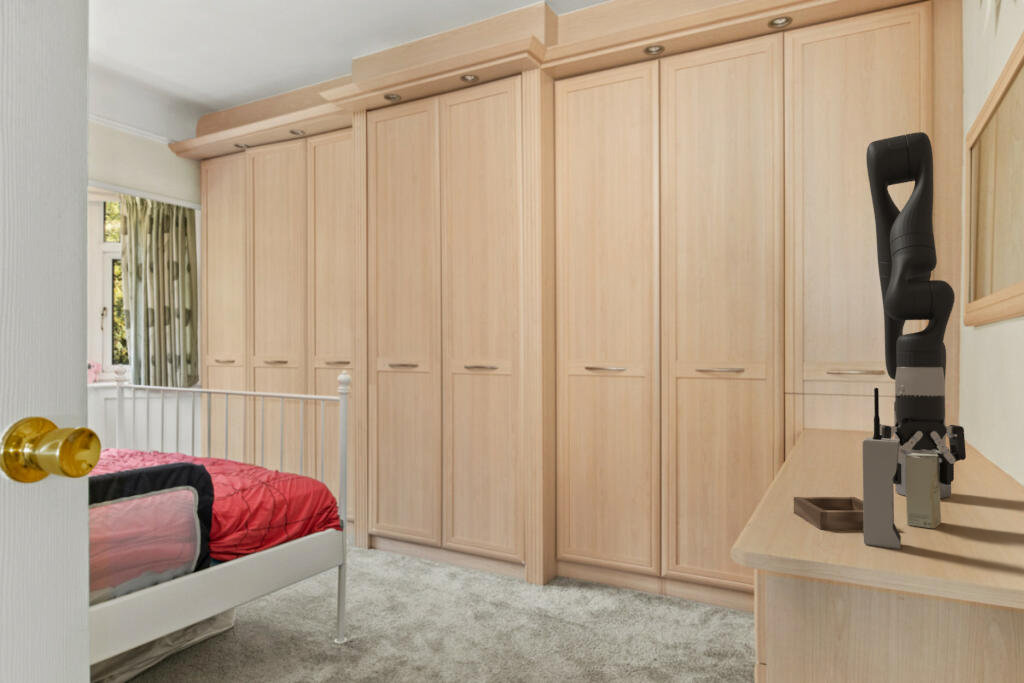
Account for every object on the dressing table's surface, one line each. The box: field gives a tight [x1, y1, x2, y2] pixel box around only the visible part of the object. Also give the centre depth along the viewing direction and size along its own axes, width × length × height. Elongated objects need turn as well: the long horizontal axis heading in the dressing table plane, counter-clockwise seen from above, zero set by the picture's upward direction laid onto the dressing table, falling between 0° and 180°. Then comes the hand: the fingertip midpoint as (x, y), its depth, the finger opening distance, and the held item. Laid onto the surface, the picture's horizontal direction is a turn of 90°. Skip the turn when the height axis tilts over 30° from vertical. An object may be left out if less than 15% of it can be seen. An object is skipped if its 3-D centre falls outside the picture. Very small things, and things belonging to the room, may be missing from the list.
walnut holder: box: [793, 496, 864, 531], centre depth 118 cm, size 11×11×3 cm
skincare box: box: [905, 453, 942, 529], centre depth 116 cm, size 6×4×12 cm
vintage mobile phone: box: [862, 387, 902, 550], centre depth 104 cm, size 4×5×25 cm
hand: (920, 483), depth 116 cm, fingers open, 8 cm apart
